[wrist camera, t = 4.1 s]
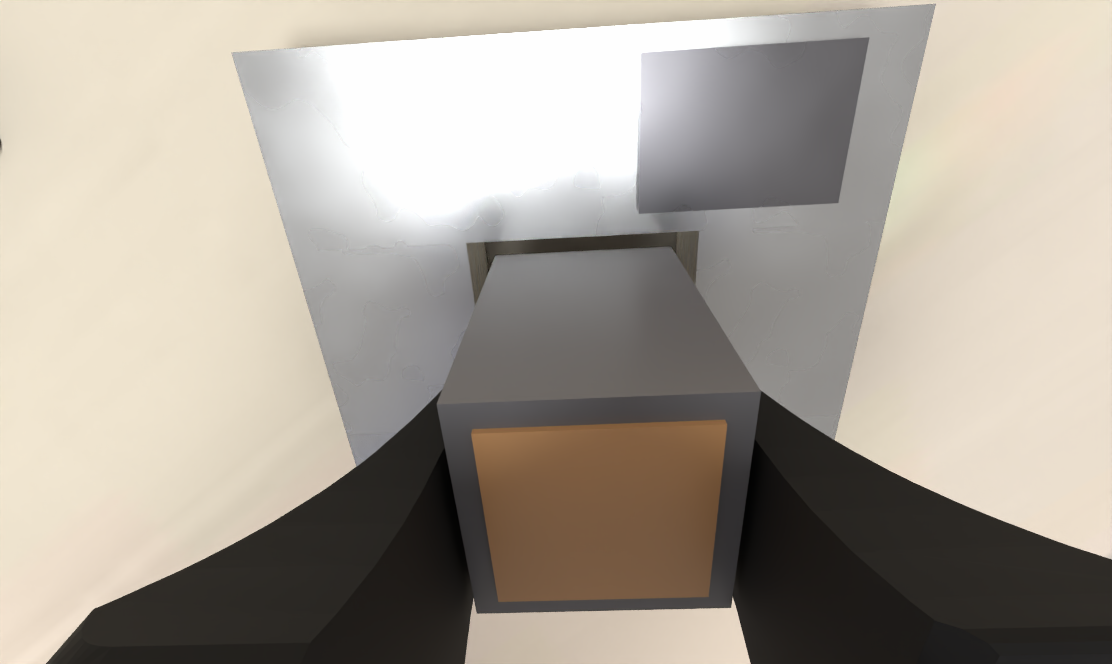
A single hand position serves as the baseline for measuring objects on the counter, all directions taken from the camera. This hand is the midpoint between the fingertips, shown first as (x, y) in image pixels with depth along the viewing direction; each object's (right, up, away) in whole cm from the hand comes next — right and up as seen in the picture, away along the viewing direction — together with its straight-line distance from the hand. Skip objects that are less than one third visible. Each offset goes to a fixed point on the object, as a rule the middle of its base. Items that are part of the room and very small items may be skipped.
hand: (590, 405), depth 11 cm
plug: (0, +2, +2) cm, 2 cm away
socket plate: (0, +2, +5) cm, 5 cm away
